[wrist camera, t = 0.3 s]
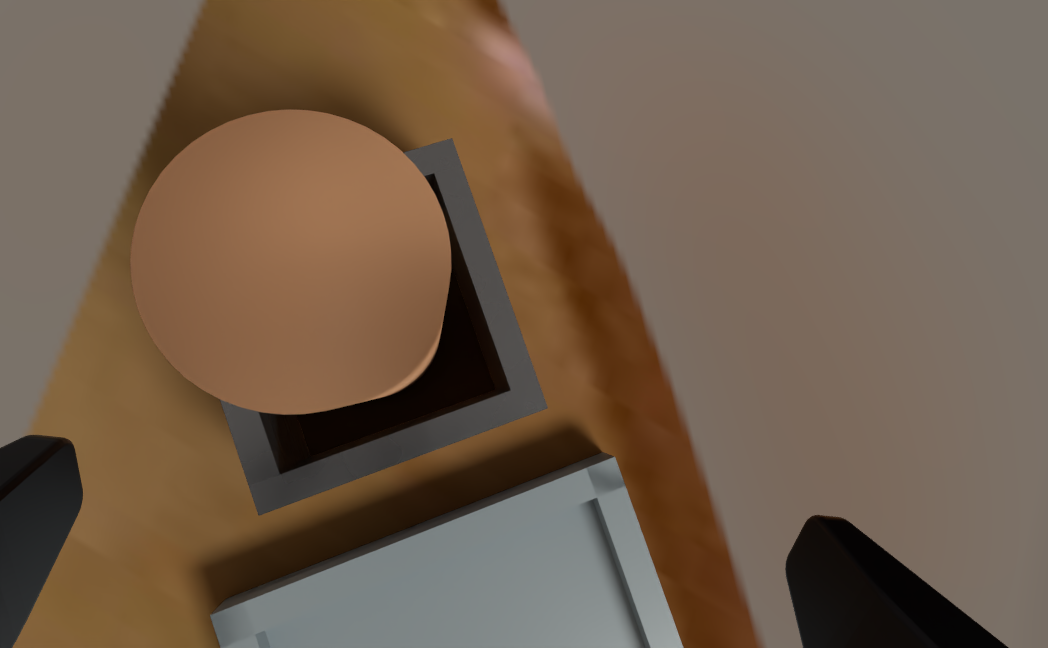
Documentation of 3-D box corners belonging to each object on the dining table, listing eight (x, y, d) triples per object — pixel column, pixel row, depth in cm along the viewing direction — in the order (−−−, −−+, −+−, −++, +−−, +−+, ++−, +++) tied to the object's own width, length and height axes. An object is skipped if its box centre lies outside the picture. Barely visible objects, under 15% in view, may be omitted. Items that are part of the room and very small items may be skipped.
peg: (457, 371, 23) (492, 353, 10) (331, 416, 22) (187, 461, 9) (415, 250, 23) (394, 75, 10) (288, 290, 22) (88, 158, 9)
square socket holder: (524, 403, 23) (547, 408, 18) (294, 488, 21) (258, 515, 17) (448, 185, 23) (452, 138, 19) (216, 256, 22) (161, 223, 17)
